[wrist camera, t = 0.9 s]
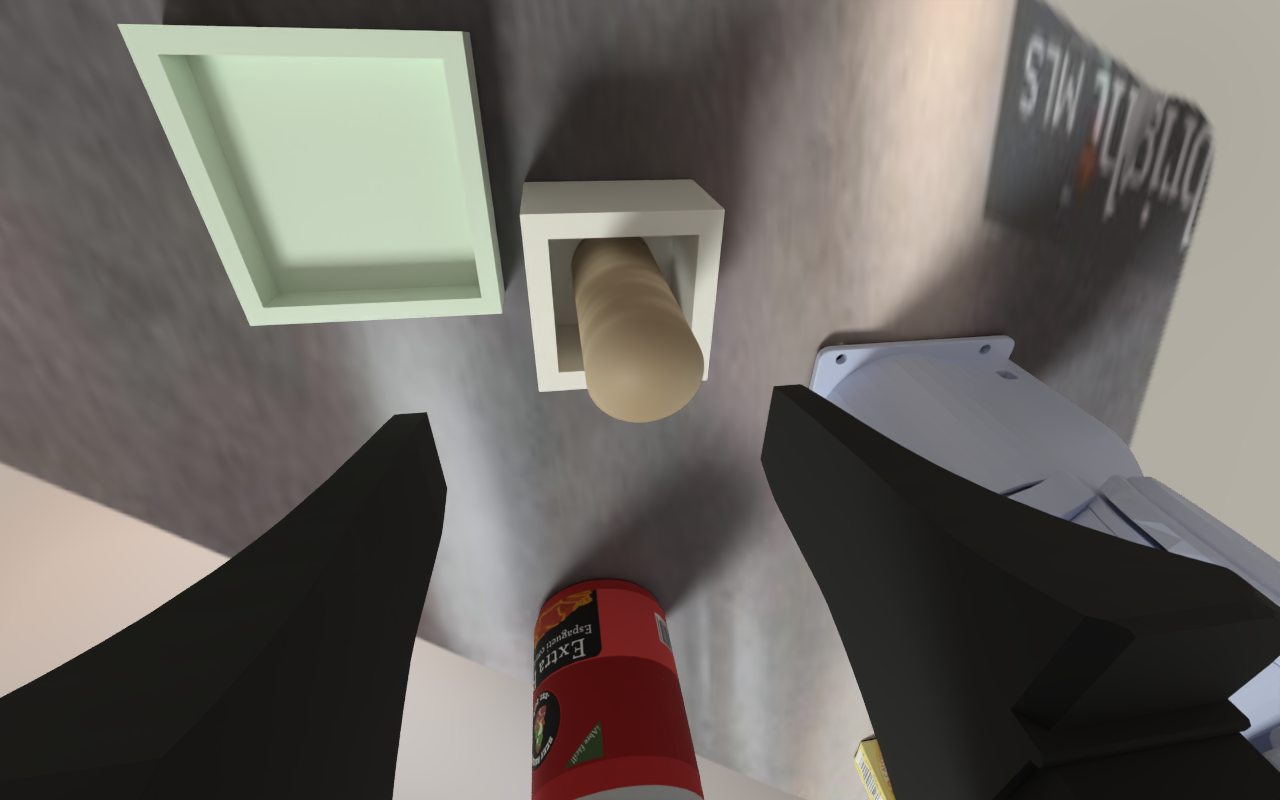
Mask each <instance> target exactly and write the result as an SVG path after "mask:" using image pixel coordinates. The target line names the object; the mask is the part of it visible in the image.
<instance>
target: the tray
mask: <svg viewBox="0 0 1280 800" xmlns="http://www.w3.org/2000/svg"><path fill="white" fill-rule="evenodd" d="M118 27H119V29H120V31H121V33H122V36H123V38H124V40H125V43H126V45H127V47H128V49H129V52H130V54H131V56H132V58H133V61H134V63H135V65H136V67H137V70H138V72H139V74H140V77H141V79H142V81H143V83H144V86H145V88H146V90H147V92H148V95H149V97H150V99H151V102H152V104H153V106H154V108H155V111H156V113H157V115H158V117H159V120H160V122H161V124H162V126H163V129H164V131H165V133H166V136H167V138H168V140H169V142H170V145H171V147H172V149H173V151H174V154H175V156H176V158H177V160H178V163H179V165H180V167H181V170H182V172H183V174H184V176H185V179H186V181H187V183H188V185H189V188H190V190H191V192H192V194H193V197H194V199H195V201H196V204H197V206H198V208H199V210H200V213H201V215H202V217H203V219H204V222H205V224H206V226H207V228H208V231H209V233H210V235H211V238H212V240H213V242H214V244H215V247H216V249H217V251H218V253H219V256H220V258H221V260H222V262H223V265H224V267H225V269H226V272H227V274H228V276H229V278H230V281H231V283H232V285H233V287H234V290H235V292H236V294H237V296H238V299H239V301H240V303H241V306H242V308H243V310H244V312H245V315H246V317H247V319H248V321H249V324H250V326H258V325H278V324H298V323H319V322H339V321H360V320H380V319H401V318H421V317H441V316H462V315H482V314H502V310H503V303H504V296H505V290H504V282H503V275H502V267H501V260H500V253H499V245H498V238H497V231H496V223H495V216H494V209H493V201H492V194H491V186H490V179H489V172H488V164H487V157H486V150H485V142H484V135H483V127H482V120H481V113H480V105H479V98H478V91H477V83H476V76H475V68H474V61H473V54H472V46H471V39H470V32H462V31H416V30H370V29H323V28H277V27H231V26H185V25H138V24H118Z"/></svg>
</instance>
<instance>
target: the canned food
mask: <svg viewBox="0 0 1280 800" xmlns="http://www.w3.org/2000/svg"><path fill="white" fill-rule="evenodd" d="M532 800H704V796H703V791H702V787H701V781H700V775H699V770H698V767H697V761H696V757H695V752H694V747H693V743H692V738H691V734H690V729H689V725H688V720H687V716H686V711H685V706H684V702H683V697H682V693H681V688H680V684H679V679H678V674H677V670H676V665H675V661H674V656H673V652H672V647H671V642H670V638H669V633H668V629H667V624H666V620H665V616H664V613H663V611H662V609H661V607H660V605H659V604H658V602H657V600H656V599H655V597H654V596H653V595H652V594H651V593H650V592H649V591H647V590H646V589H645V588H643V587H641V586H639V585H636V584H634V583H630V582H626V581H622V580H614V579H598V580H591V581H585V582H582V583H578V584H575V585H572V586H570V587H568V588H566V589H563V590H562V591H560V592H558V593H557V594H555V595H554V596H553V597H551V598H550V599H549V600H548V601H547V602H546V603H545V605H544V606H543V608H542V609H541V611H540V614H539V617H538V620H537V623H536V626H535V629H534V684H533V746H532Z"/></svg>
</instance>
